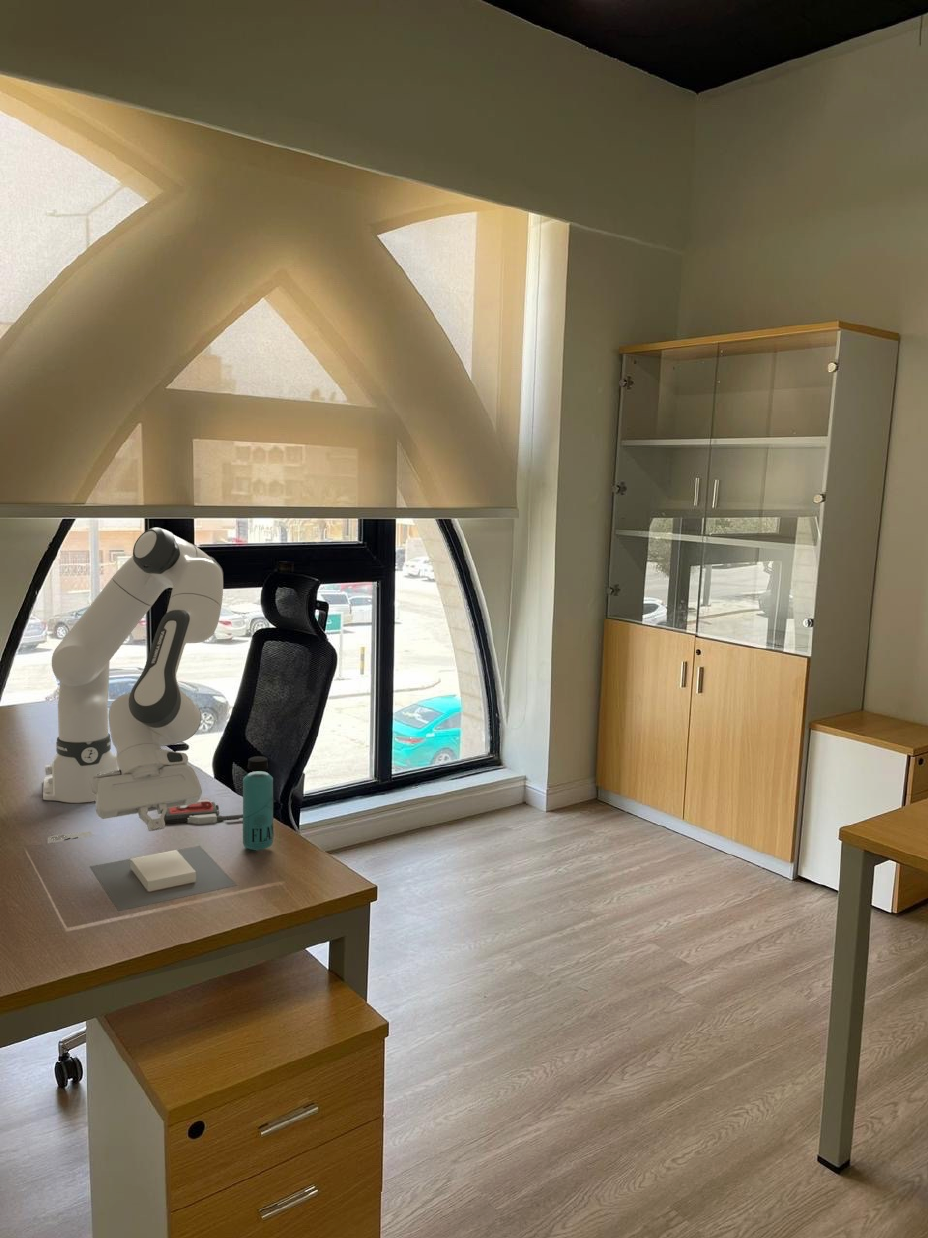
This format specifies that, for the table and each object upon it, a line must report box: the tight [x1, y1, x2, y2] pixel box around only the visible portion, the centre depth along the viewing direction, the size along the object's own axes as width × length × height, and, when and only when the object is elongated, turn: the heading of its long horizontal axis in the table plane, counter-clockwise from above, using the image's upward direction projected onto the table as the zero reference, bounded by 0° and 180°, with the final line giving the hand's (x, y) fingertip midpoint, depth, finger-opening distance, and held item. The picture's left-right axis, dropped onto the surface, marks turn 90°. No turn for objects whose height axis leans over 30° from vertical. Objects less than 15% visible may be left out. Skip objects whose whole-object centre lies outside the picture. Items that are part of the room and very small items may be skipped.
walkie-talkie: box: [164, 798, 243, 825], centre depth 219 cm, size 9×4×20 cm
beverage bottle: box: [242, 755, 275, 850], centre depth 201 cm, size 6×7×20 cm
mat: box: [89, 845, 238, 912], centre depth 187 cm, size 22×22×1 cm
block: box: [130, 849, 196, 892], centre depth 187 cm, size 2×9×12 cm
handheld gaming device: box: [46, 831, 93, 844], centre depth 201 cm, size 9×1×15 cm
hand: (157, 829), depth 190 cm, fingers closed
